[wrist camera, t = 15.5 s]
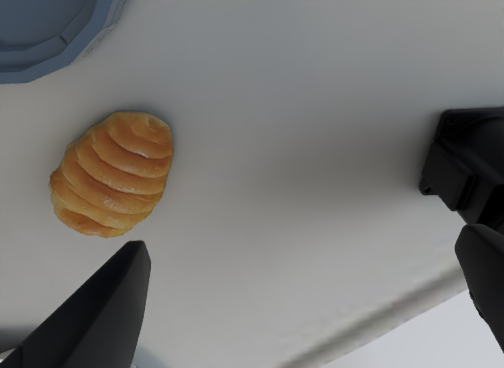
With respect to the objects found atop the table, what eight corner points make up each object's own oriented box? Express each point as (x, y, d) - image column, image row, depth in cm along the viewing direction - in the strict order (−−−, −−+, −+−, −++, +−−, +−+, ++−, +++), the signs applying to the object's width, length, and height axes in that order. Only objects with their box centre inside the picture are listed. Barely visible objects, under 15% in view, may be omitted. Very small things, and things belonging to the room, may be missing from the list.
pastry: (107, 77, 19) (81, 101, 16) (202, 139, 22) (195, 170, 19) (52, 181, 24) (23, 215, 20) (138, 222, 26) (124, 259, 23)
